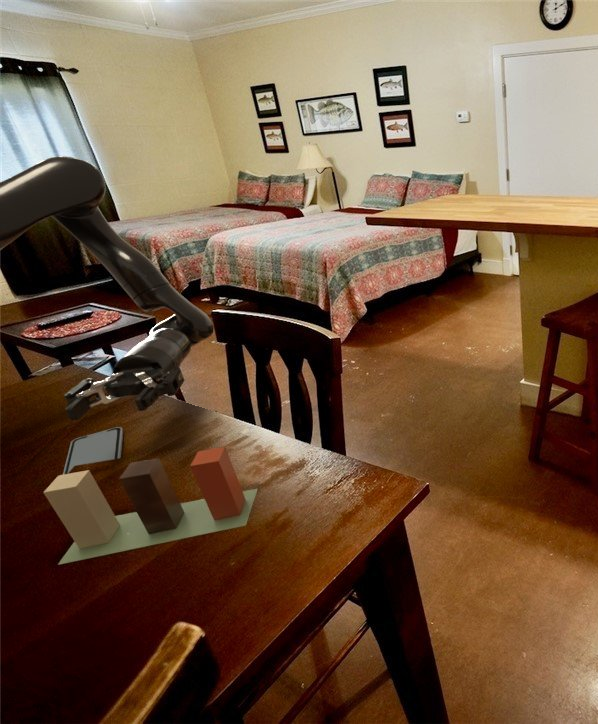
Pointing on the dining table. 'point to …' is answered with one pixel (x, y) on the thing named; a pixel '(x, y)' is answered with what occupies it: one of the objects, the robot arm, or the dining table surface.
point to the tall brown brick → (152, 495)
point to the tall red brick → (218, 483)
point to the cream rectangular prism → (82, 508)
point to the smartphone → (95, 448)
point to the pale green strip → (136, 536)
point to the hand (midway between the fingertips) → (106, 410)
